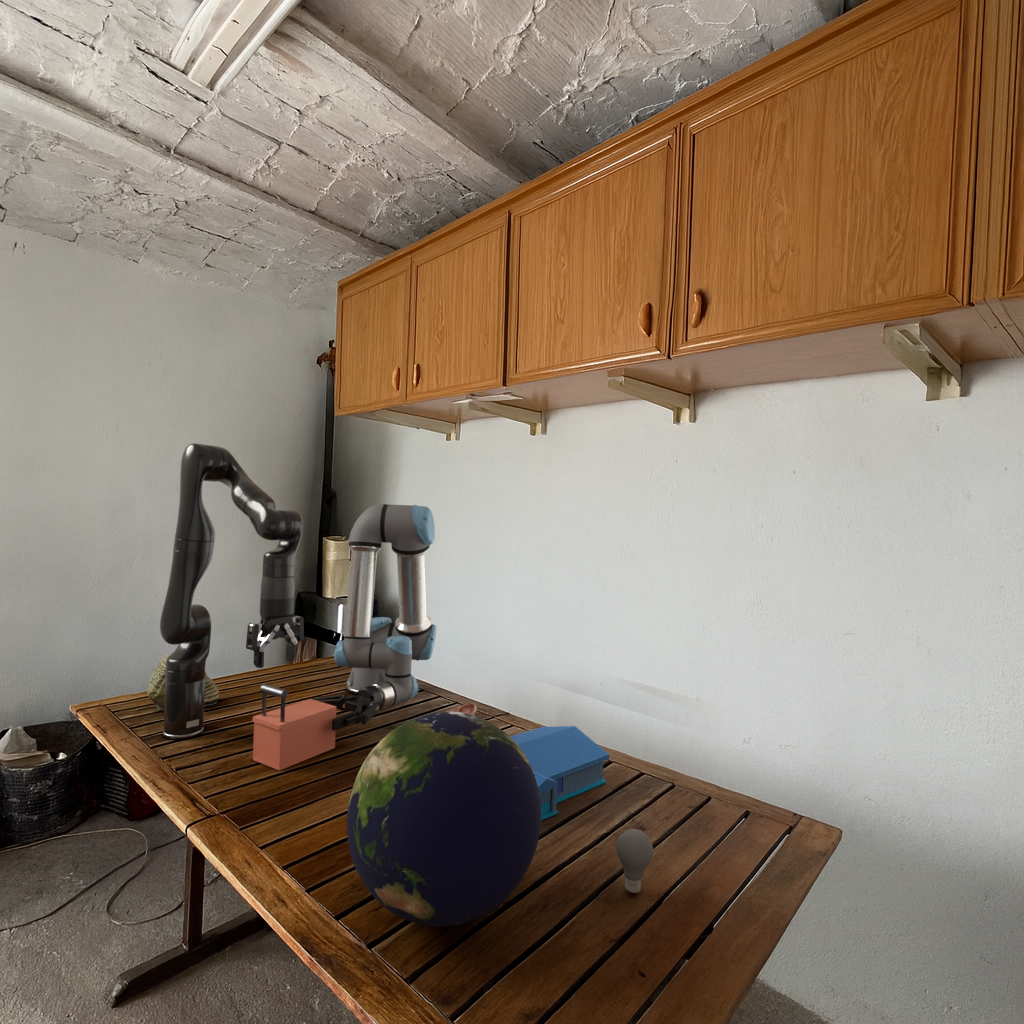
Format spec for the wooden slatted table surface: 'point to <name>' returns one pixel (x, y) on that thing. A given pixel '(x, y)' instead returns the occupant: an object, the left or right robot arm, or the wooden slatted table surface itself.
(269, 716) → the lid
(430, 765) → the globe
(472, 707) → the anatomical model
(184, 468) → the left robot arm
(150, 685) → the fossil
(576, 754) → the model building
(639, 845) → the light bulb
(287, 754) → the chest
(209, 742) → the wooden slatted table surface
